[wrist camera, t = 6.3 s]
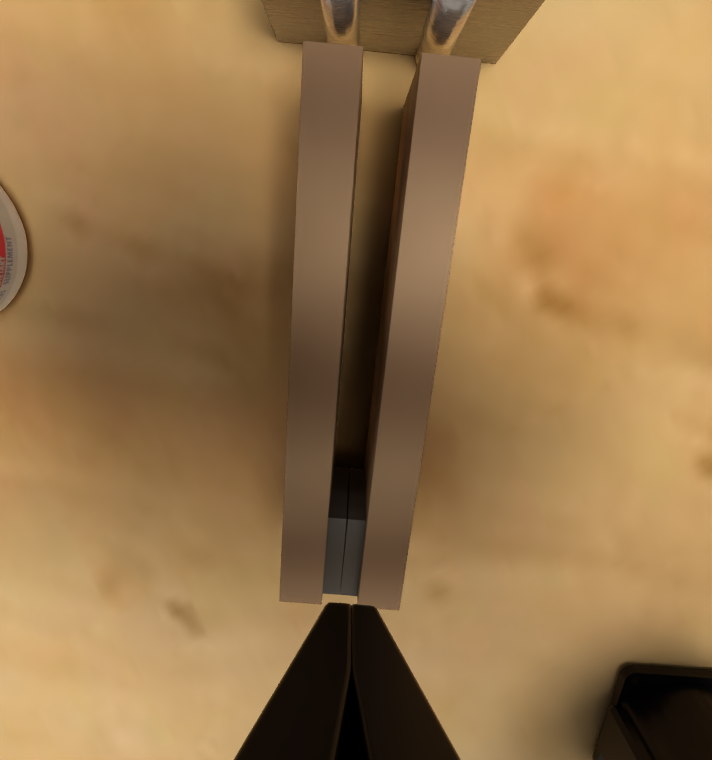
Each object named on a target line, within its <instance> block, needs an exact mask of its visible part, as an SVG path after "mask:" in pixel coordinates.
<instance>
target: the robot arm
mask: <svg viewBox="0 0 712 760" xmlns="http://www.w3.org/2000/svg"><path fill="white" fill-rule="evenodd" d="M234 760H460V758H459V756H458V754H457V753H456V751H455V749H454V747H453V745H452V744H451V742H450V740H449V738H448V736H447V735H446V733H445V731H444V729H443V727H442V726H441V724H440V722H439V720H438V718H437V717H436V715H435V713H434V711H433V709H432V707H431V706H430V704H429V702H428V700H427V698H426V697H425V695H424V693H423V691H422V689H421V688H420V686H419V684H418V682H417V680H416V679H415V677H414V675H413V673H412V671H411V670H410V668H409V666H408V664H407V662H406V661H405V659H404V657H403V655H402V653H401V652H400V650H399V648H398V646H397V644H396V643H395V641H394V639H393V637H392V635H391V634H390V632H389V630H388V628H387V626H386V625H385V623H384V621H383V619H382V617H381V616H380V614H379V612H378V610H377V609H376V608H375V607H374V606H371V605H358V604H353V605H352V606H351V605H350V604H345V603H328V604H327V605H326V606H325V607H324V609H323V610H322V612H321V614H320V616H319V617H318V619H317V621H316V622H315V624H314V626H313V627H312V629H311V631H310V632H309V634H308V636H307V637H306V639H305V641H304V642H303V644H302V646H301V647H300V649H299V651H298V652H297V654H296V656H295V658H294V659H293V661H292V663H291V664H290V666H289V668H288V669H287V671H286V673H285V674H284V676H283V678H282V679H281V681H280V683H279V684H278V686H277V688H276V689H275V691H274V693H273V694H272V696H271V698H270V700H269V701H268V703H267V705H266V706H265V708H264V710H263V711H262V713H261V715H260V716H259V718H258V720H257V721H256V723H255V725H254V726H253V728H252V730H251V731H250V733H249V735H248V736H247V738H246V740H245V742H244V743H243V745H242V747H241V748H240V750H239V752H238V753H237V755H236V757H235V758H234ZM593 760H712V671H705V670H691V669H678V668H664V667H651V666H637V665H630V666H627V667H625V668H623V669H622V671H621V672H620V675H619V678H618V681H617V684H616V687H615V690H614V693H613V696H612V699H611V702H610V705H609V708H608V711H607V714H606V717H605V720H604V723H603V726H602V729H601V732H600V735H599V738H598V741H597V744H596V747H595V750H594V753H593Z"/></svg>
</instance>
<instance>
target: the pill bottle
mask: <svg viewBox="0 0 712 760" xmlns="http://www.w3.org/2000/svg"><path fill="white" fill-rule="evenodd" d="M26 266H27V240H26V234H25V230H24V227H23V224H22V221H21V219H20V217H19V215H18V213H17V211H16V209H15V207H14V205H13V203H12V202H11V200H10V199H9V197H8V196H7V194H6V193H5V191H4V190H3V189H2V187H1V186H0V311H1V310H3V309H4V308H5V307H6V306H7V305H8V304H9V303H10V302H11V301H12V299H13V298H14V297H15V295H16V293H17V292H18V290H19V288H20V286H21V284H22V282H23V279H24V276H25V272H26Z"/></svg>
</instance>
